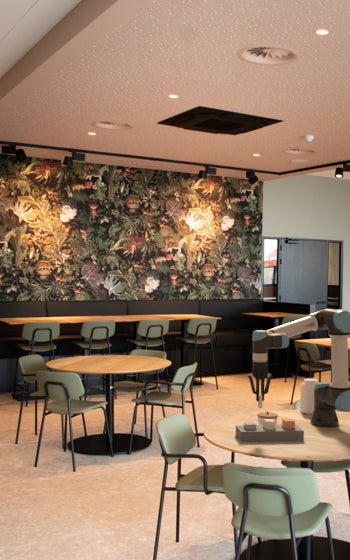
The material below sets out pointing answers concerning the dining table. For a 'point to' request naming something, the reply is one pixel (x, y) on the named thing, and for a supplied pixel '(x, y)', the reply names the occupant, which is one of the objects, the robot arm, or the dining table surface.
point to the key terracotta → (288, 424)
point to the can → (307, 395)
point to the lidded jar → (266, 416)
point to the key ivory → (269, 424)
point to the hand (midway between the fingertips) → (260, 407)
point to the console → (269, 434)
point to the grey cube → (249, 426)
